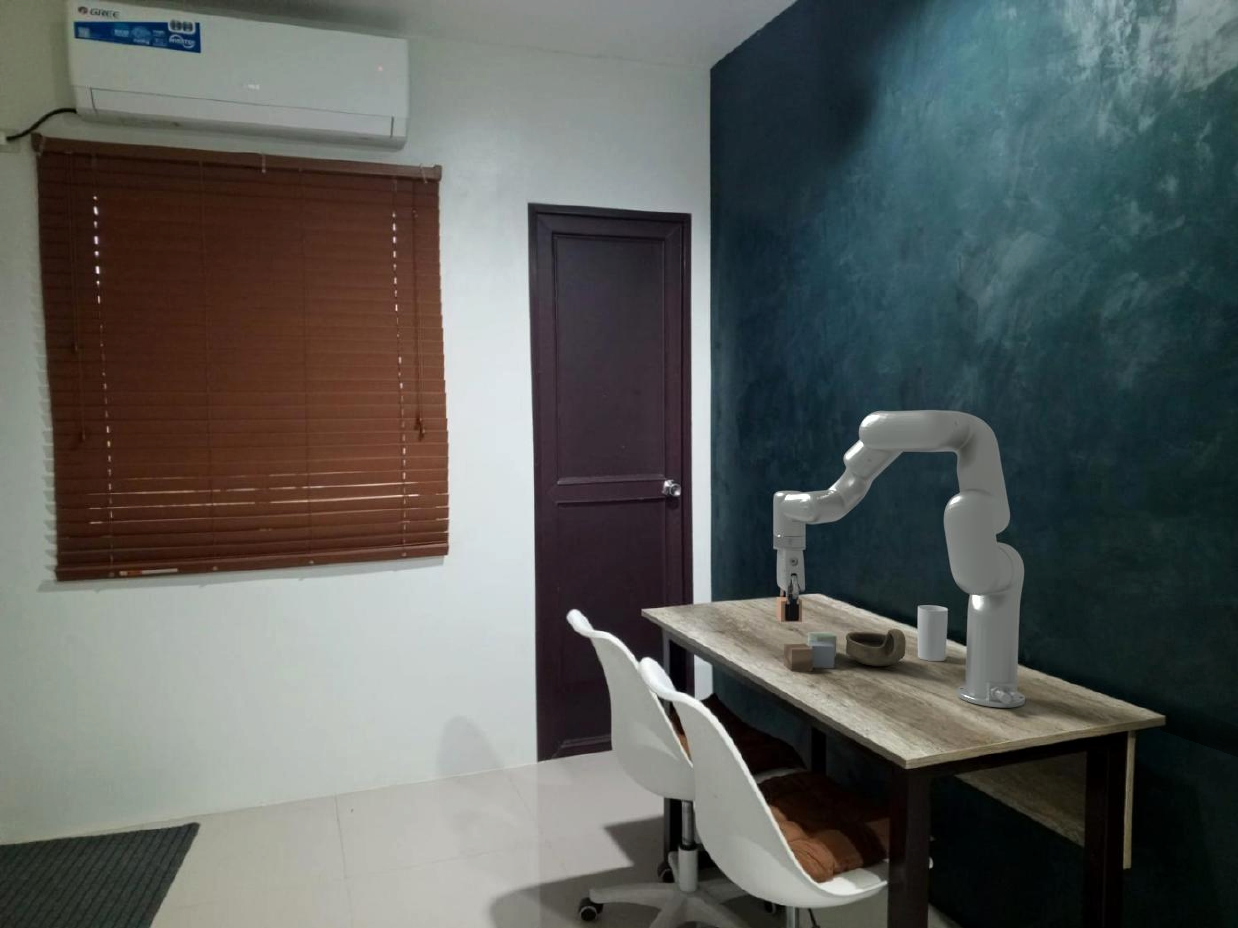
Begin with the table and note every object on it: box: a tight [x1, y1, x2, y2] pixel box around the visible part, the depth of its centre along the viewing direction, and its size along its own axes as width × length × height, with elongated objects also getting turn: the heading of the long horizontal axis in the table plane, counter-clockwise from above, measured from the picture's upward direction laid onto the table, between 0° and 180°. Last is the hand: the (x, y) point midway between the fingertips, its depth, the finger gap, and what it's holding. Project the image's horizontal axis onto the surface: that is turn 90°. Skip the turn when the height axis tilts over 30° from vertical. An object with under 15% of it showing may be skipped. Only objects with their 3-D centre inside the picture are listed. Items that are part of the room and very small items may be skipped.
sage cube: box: [807, 631, 837, 658], centre depth 208 cm, size 5×5×5 cm
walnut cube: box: [783, 643, 814, 672], centre depth 196 cm, size 5×5×5 cm
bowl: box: [845, 628, 907, 667], centre depth 198 cm, size 14×18×10 cm
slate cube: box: [809, 640, 835, 669], centre depth 199 cm, size 5×5×5 cm
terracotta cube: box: [776, 596, 803, 623], centre depth 207 cm, size 5×5×5 cm
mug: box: [917, 604, 949, 662], centre depth 207 cm, size 10×7×12 cm, turn 7°
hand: (789, 617), depth 207 cm, fingers closed on terracotta cube, 5 cm apart
